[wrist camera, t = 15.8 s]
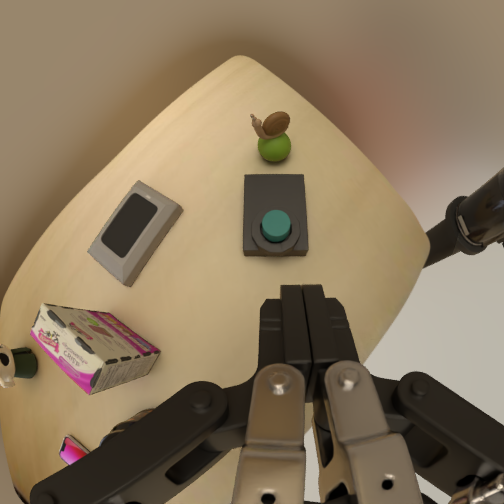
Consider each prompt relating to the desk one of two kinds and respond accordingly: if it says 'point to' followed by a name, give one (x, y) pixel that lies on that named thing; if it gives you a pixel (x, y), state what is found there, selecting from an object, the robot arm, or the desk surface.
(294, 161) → the desk surface
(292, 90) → the desk surface
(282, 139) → the snail figurine
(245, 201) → the black button base
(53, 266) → the desk surface
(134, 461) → the robot arm
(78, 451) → the smartphone
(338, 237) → the desk surface
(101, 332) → the candy bar box
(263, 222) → the push button
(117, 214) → the grey bevelled block
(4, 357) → the character mug
